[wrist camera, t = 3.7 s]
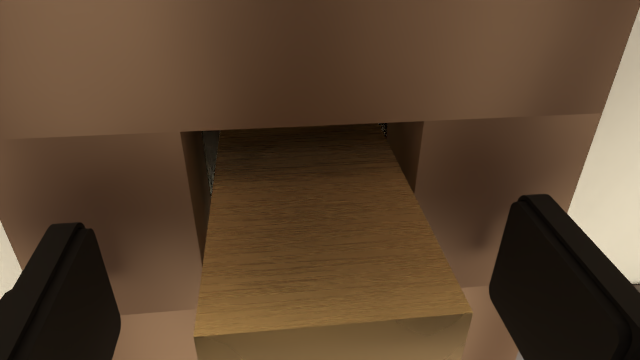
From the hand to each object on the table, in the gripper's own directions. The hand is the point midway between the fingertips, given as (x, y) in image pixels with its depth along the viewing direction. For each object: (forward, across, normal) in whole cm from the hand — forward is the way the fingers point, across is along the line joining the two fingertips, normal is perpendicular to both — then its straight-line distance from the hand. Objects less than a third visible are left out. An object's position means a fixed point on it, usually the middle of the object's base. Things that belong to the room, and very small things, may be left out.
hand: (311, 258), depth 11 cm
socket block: (+4, 0, 0) cm, 4 cm away
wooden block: (+4, 0, 0) cm, 4 cm away
